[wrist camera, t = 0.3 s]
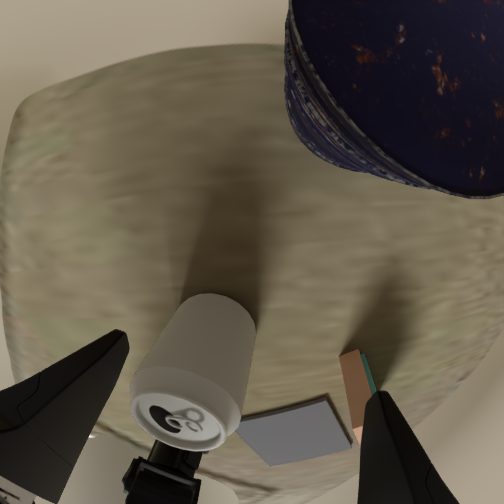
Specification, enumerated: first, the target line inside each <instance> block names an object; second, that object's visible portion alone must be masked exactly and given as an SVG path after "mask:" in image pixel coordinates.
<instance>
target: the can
mask: <svg viewBox="0 0 504 504" xmlns="http://www.w3.org/2000/svg"><path fill="white" fill-rule="evenodd" d="M255 339H256V329H255V323H254V321H253V320H252V318H251V316H250V314H249V312H248V311H247V310H245V309H244V308H243V307H242V306H241V305H240V304H239V303H238V302H236V301H234V300H232V299H230V298H228V297H226V296H222V295H218V294H213V293H208V294H198V295H195V296H193V297H190V298H188V299H187V300H185V301H184V302H183V303H182V304H181V305H180V306H179V307H178V309H177V310H176V312H175V313H174V315H173V316H172V318H171V319H170V321H169V322H168V324H167V325H166V327H165V328H164V330H163V331H162V333H161V334H160V336H159V337H158V339H157V341H156V342H155V344H154V345H153V347H152V348H151V350H150V351H149V353H148V354H147V356H146V357H145V359H144V361H143V362H142V364H141V365H140V367H139V368H138V370H137V371H136V373H135V375H134V376H133V379H132V381H131V384H130V390H131V396H132V400H131V403H130V408H131V413H132V415H133V417H134V418H135V420H136V422H137V423H138V424H139V425H140V426H141V427H142V428H143V429H144V430H145V431H146V432H147V433H148V434H150V435H151V436H153V437H154V438H156V439H157V440H159V441H161V442H163V443H165V444H168V445H170V446H173V447H176V448H179V449H183V450H190V451H208V450H211V449H214V448H217V447H220V446H221V445H222V444H223V443H224V442H225V441H226V436H228V435H231V434H232V433H233V432H234V431H235V430H236V429H237V428H238V427H239V423H240V420H241V415H242V410H243V405H244V399H245V394H246V389H247V383H248V378H249V372H250V367H251V361H252V356H253V350H254V345H255Z"/></svg>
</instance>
